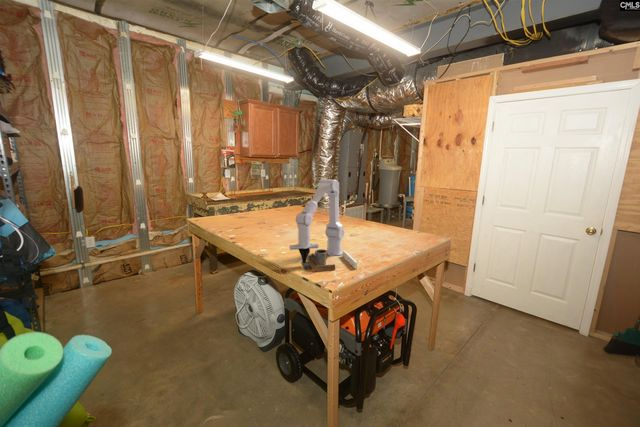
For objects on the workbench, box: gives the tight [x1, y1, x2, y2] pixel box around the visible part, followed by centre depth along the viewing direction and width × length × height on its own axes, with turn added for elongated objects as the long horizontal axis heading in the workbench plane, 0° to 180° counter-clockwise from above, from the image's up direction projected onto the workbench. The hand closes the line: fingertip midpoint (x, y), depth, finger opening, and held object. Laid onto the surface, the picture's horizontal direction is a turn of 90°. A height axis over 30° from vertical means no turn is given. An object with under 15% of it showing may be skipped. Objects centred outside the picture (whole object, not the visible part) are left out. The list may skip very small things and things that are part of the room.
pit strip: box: [301, 261, 313, 271], centre depth 144 cm, size 10×4×1 cm, turn 14°
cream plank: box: [342, 249, 358, 270], centre depth 149 cm, size 20×1×4 cm, turn 14°
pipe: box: [310, 248, 328, 266], centre depth 146 cm, size 6×13×8 cm, turn 32°
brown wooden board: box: [307, 254, 336, 272], centre depth 146 cm, size 17×10×2 cm, turn 14°
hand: (304, 262), depth 143 cm, fingers closed
